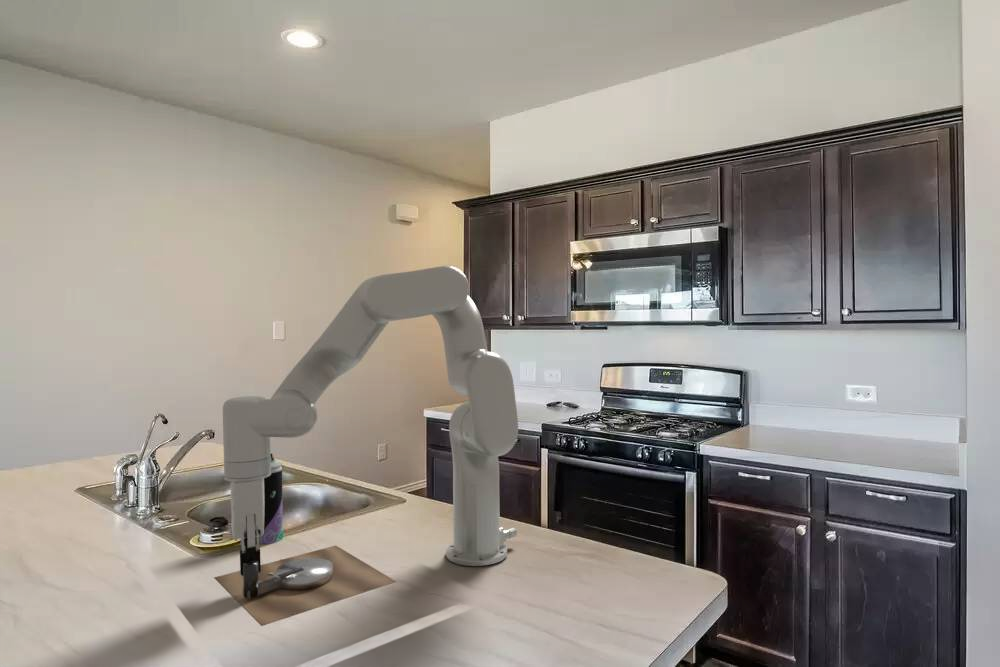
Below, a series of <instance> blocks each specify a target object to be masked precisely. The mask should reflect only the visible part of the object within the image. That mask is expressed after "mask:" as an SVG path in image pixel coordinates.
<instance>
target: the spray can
mask: <svg viewBox="0 0 1000 667" xmlns="http://www.w3.org/2000/svg"><path fill="white" fill-rule="evenodd" d="M270 456H271V475H270V476H269V477H266V478H264V502H265V508H264V534H263V535H262V536H261V537H260V535H259V545H271V544H275V543H276V544H277V543H278V542H281V541H283V539H284V516H283V515H284V513H283V512H284V511H283V510H284V509H283V504H284V502H283V467H282V463H281V462H279V461H276V459H275V458H274V456H273V453H271V455H270Z"/></svg>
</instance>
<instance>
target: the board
mask: <svg viewBox="0 0 1000 667" xmlns="http://www.w3.org/2000/svg"><path fill="white" fill-rule="evenodd" d="M304 558H321V559H326V560H329V561H330V562H331V563H332V564H333V576H332V578H331V579H330V580H329V581H328V582H326V583H324V584H322V585H319V586H316V587H313V588H308V589H301V590H289V589H283V588H280V587H279V588H277V589H274V590H271V591H268V592H265V593H263V594H260V595H257V596H256V597H252V598H245V597H244V596H243V576H242V575H241V572H240V570H237V571H234V572H230V573H226V574H222V575H218V576H214V579H215V580H216V581H217V582H218V583H219V584H220V585H221V586H222V587H223V588H224V589H225V591H227V592H228V593H229V595H231V597H233V599H234V600H236V601H237V603H239V605H240V606H241V607H243V609H244V610H246V612H247V613H248V614H249V615H250V616H251V617H252V618H253V619H254V620H255V621H256V622H257V623H258V624H259V625H260V627H261V626H262V627H263V626H267V625H269V624H272V623H275V622H278V621H281V620H284V619H287V618H290V617H293V616H297V615H300V614H302V613H305V612H308V611H311V610H314V609H317V608H320V607H323V606H326V605H330V604H333V603H335V602H339V601H342V600H344V599H348V598H350V597H351V598H352V597H354V596H357V595H360V594H363V593H366V592H369V591H372V590H375V589H378V588H381V587H385V586H388V585H391V584H394V583H396V582H397V581H396V580H395V579H393V578H392V577H390V576H388V575H387V574H385V573H383V572H381V571H380V570H378V569H377V568H374V567H373V566H372V565H370V564H368V563H366V562H365V561H363V560H361V559H360V558H358V557H356V556H354V555H352V554H351V553H349V552H348V551H346V550H344V549H343V548H342V547H340V546H337V545H332V546H329V547H325V548H321V549H318V550H314V551H309V552H305V553H302V554H297V555H293V556H290V557H286V558H282V559H279V560H276V561H271V562H267V563H264V564H261V571H260V573H259V582H262V581H265V580H268V579H271V578H274V577H275V570H276V569H277V568H278V567H279V566H281V565H283V564H285V563H287V562H290V561H293V560H298V559H304Z"/></svg>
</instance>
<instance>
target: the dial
mask: <svg viewBox="0 0 1000 667" xmlns="http://www.w3.org/2000/svg"><path fill="white" fill-rule="evenodd" d="M332 576H333V564H332V563H331V562H330V561H329V560H326V559H321V558H304V559H298V560H293V561H290V562H287V563H285V564H283V565H281V566H279V567H278V568H277V569H276V570H275V577H274V578H271V579H268V580H265V581H262V582H259V573H258V561H255V560H252V561H247V562H245V563H243V596H244V597H245V598H252V597H256V596H257V595H260V594H263V593H265V592H268V591H271V590H274V589H277V588H279V587H280V588H283V589H289V590H301V589H308V588H313V587H316V586H319V585H322V584H324V583H326V582H328V581H329V580H330V579H331V578H332Z"/></svg>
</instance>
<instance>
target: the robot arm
mask: <svg viewBox="0 0 1000 667" xmlns="http://www.w3.org/2000/svg"><path fill="white" fill-rule="evenodd" d="M469 293H470V284H469V280H468V277H467V276H466V275H465V273H464V272H463V271H462V270H461V269H459V268H457V267H454V266H451V265H441V266H440V265H439V266H435V267H429V268H423V269H422V268H421V269H416V270H409V271H404V272H395V273H387V274H385V273H384V274H381V275H377V276H371V277H370V278H367V279H365V280H364V281H362V282H361V283H360V285H359V286H358V287H357V288H356V289H355V290H354V292H353V293H352V295H351V296H350V297H349V298H348V300H347V301H346V302H345V304H344V305H343V306H342V308H341V309H340V311H338V313H337V314H336V316H335V317H334V319H332V321H331V322H330V323H329V325H328V327H326V329H325V330H324V331H323V332H322V333H321V335H320V337H318V339H317V340H316V341H315V342H314V343H313V344H312V345H311V347H310V348H309V350H308V351H306V353H305V354H304V356H302V357H301V358H300V360H299V361H298V362H297V363H296V364H295V365H294V367H293V368H292V370H291V371H290V372H289V373H288V374H287V375H286V378H284V379H283V381H282V382H281V384H280V385H279V386H278V388H277V389H276V390H275V391H274V393H273V395H272V396H271V397H270V398H269V399H267V398H266V397H264V396H263V397H262V396H255V395H254V396H253V395H252V396H251V395H250V396H249V395H247V396H236V397H231V398H229V399H227V400H225V402H224V403H223V405H222V432H223V434H222V435H223V473H224V474H223V476H224V478H223V479H224V481H227V482H230V523H231V524H230V526H231V529H230V530H231V535H232V539H233V541H235V542H236V541H238V540H239V539H240V549H239V563H240V564H239V567H240V568H239V569H240V570H239V571H240V572H241V575H242V576H243V563H245V562H247V561H252V560H255V561H258V573H260V571H261V565H262V564H261V547H260V544H259V535H260V537H261V536H262V535H263V534H264V508H265V502H264V478H266V477H269V476H270V475H271V456H270V455H271V454H272V453H271V438H284V439H285V438H287V439H288V438H289V439H294V438H300V437H303V436H306V435H308V434H309V433H310V432H311V431H312V430H313V429H314V428H315V426H316V424H317V422H318V410H317V407H316V406H315V404H316V403H317V402H318V401H319V399H320V398H321V397H322V395H323V394H324V393H325V392H326V390H327V389H328V388H329V387H330V385H332V384H333V383H334V382H335V380H337V379H338V378H340V377H341V376H343V375H344V374H346V373H349V371H351V370H353V369H354V368H355V367H356V366H357V365H358V364H359V363H360V362H361V361H362V360H363V358H364V357H365V356H366V354H367V352H368V351H369V350H370V348H372V346H373V344H374V343H375V342H376V340H377V338H379V336H380V335H381V333H382V332H383V331H384V329H385V328H386V327H387V325H388V324H389V322H395V321H400V320H402V321H403V320H409V319H415V318H420V317H426V316H430V315H432V316H433V318H434V319H435V320H436V321H437V323H438V326H439V327H440V331H441V337H442V340H443V346H444V347H443V348H444V354H445V361H446V362H445V363H446V372H447V377H448V378H447V380H448V383H449V386H450V387H451V388H452V390H453V391H454V392H456V393H457V394H458V395H461V396H464V397H467V398H468V401H466V402H463V403H461V404H459V405H458V406H457V407H456V408H455V409H454V410H453V412H452V413H451V416H450V419H449V425H448V426H449V427H448V433H449V434H448V435H449V441H450V448H451V455H452V474H453V475H452V478H453V479H452V491H453V492H452V496H453V498H452V499H453V500H452V502H453V503H452V505H453V506H452V507H453V508H452V510H453V516H452V517H453V519H452V520H453V522H452V523H453V543H451V544H450V545H448V547H447V548H446V550H445V555H446V558H447V559H448V560H449V561H450V562H452V563H453V564H456V565H460V566H466V567H484V566H489V565H494V564H497V563H499V562H502V561H503V560H505V559H506V558H507V556H508V548H507V546H506V545H505V543H506V541H507V540H509V539H513V538H515V537H517V535H518V532H517V529H516V528H515V527H511V528H508V529H506V530H504V528H503V527H500V525H501V524H500V522H501V521H500V519H501V518H500V509H501V508H500V463H499V457H500V456H501V457H502V456H504V455H506V454H508V453H509V452H510V451H511V450H512V449H513V448H514V446H515V444H516V442H517V439H518V434H519V419H518V418H519V417H518V410H517V402H516V393H515V385H514V378H513V374H512V370H511V368H510V366H509V365H508V363H507V361H506V360H505V358H504V357H502V356H500V355H499V354H497V353H496V352H493V351H490V350H489V351H488V345H487V339H486V335H485V330H484V329H485V328H484V324H483V320H482V316H481V313H480V311H479V309H478V307H477V305H476V304H475V301H474V300H473V299H472V298H471V297H470V296H469Z"/></svg>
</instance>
